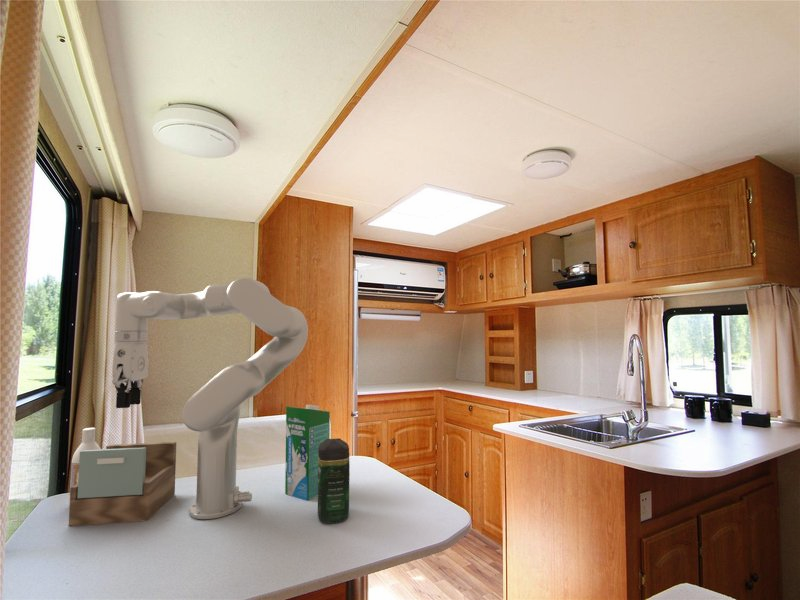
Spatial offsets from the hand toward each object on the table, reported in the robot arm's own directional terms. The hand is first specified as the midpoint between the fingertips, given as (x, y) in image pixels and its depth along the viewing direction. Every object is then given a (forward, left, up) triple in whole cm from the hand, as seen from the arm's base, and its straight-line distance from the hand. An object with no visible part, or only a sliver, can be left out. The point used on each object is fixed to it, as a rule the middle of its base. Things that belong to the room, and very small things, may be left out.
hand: (128, 405), depth 109 cm
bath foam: (+14, -8, -28) cm, 32 cm away
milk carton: (-47, -5, -28) cm, 55 cm away
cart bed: (0, -1, -27) cm, 27 cm away
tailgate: (0, +7, -21) cm, 22 cm away
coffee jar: (-55, +12, -28) cm, 63 cm away
